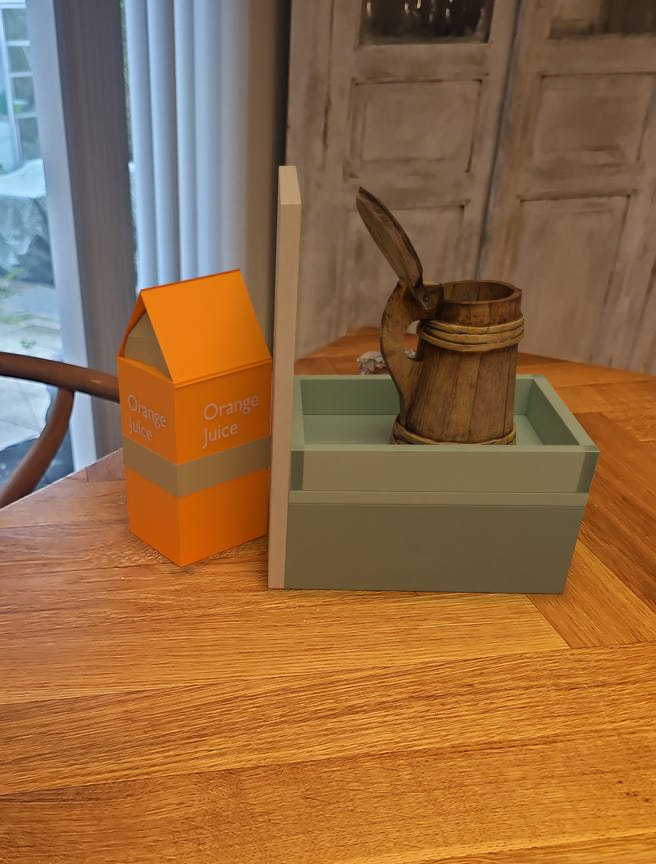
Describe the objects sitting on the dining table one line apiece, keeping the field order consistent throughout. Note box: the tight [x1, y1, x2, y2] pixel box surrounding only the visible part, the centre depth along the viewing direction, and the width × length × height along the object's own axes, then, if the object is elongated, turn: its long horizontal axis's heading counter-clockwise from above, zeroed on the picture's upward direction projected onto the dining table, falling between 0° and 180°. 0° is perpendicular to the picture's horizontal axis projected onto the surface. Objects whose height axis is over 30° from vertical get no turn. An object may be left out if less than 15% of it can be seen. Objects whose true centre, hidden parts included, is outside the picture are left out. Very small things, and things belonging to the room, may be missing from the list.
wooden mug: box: [355, 186, 525, 445], centre depth 60 cm, size 9×14×18 cm, turn 100°
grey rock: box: [356, 348, 416, 375], centre depth 97 cm, size 11×8×4 cm
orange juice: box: [116, 268, 273, 568], centre depth 67 cm, size 8×9×20 cm
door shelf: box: [267, 165, 601, 595], centre depth 63 cm, size 21×15×26 cm
